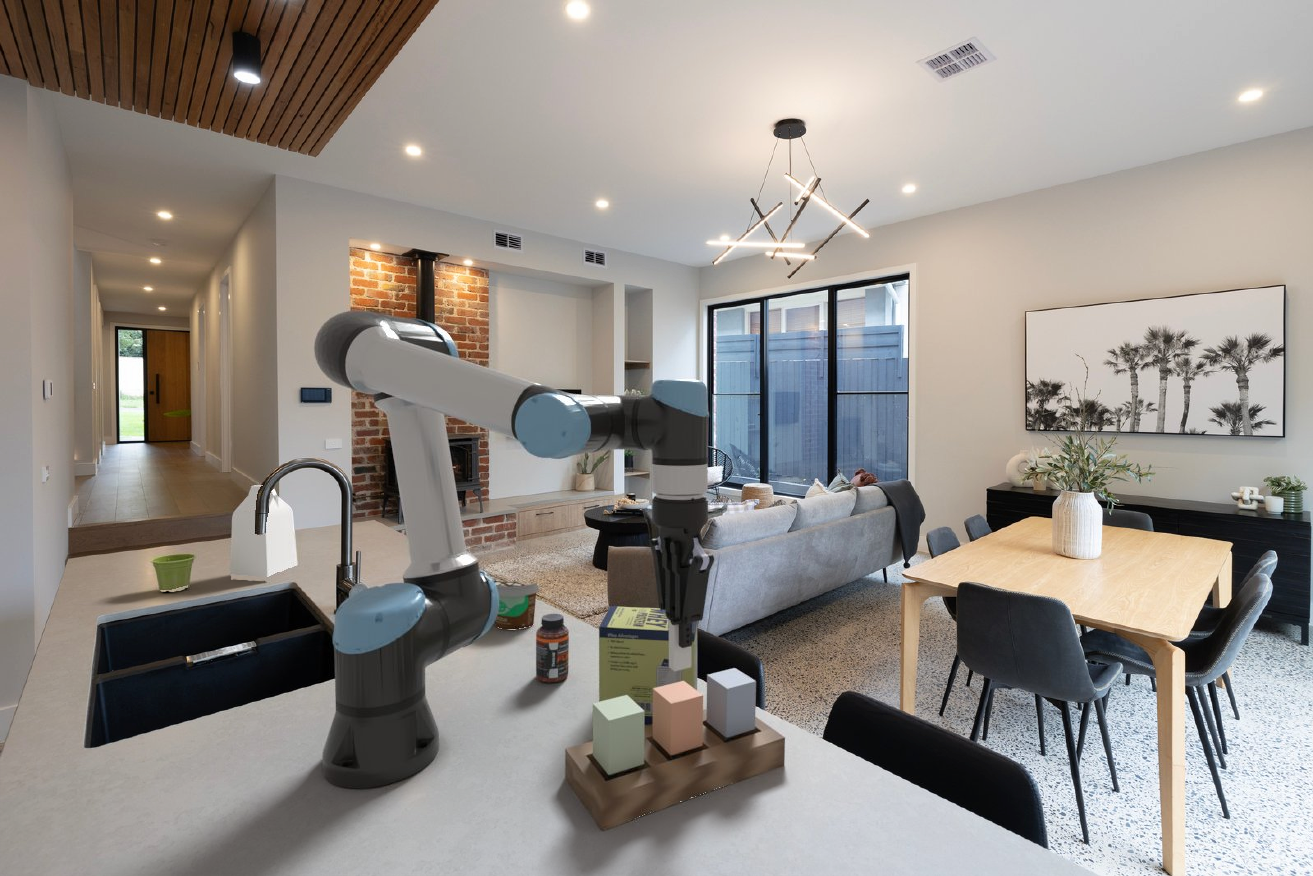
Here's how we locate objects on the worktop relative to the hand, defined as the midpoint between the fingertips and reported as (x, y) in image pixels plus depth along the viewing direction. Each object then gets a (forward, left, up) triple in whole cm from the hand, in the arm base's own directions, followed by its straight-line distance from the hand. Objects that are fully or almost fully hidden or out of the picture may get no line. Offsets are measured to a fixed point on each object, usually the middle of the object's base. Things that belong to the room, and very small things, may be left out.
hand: (680, 667), depth 84 cm
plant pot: (-75, +133, -15) cm, 154 cm away
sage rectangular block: (-9, 0, -11) cm, 14 cm away
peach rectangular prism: (0, 0, -11) cm, 11 cm away
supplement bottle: (-5, +36, -15) cm, 40 cm away
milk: (-55, +138, -15) cm, 150 cm away
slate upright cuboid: (+9, 0, -11) cm, 14 cm away
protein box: (+5, +17, -15) cm, 23 cm away
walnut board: (0, 0, -15) cm, 15 cm away
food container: (-5, +65, -15) cm, 67 cm away
